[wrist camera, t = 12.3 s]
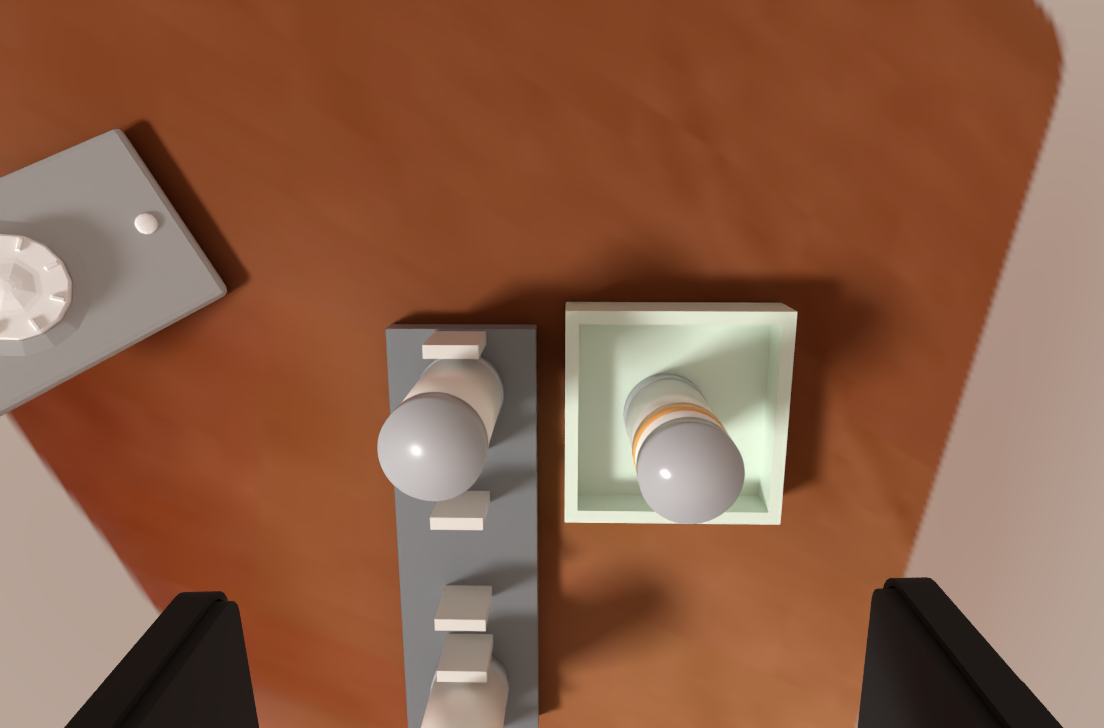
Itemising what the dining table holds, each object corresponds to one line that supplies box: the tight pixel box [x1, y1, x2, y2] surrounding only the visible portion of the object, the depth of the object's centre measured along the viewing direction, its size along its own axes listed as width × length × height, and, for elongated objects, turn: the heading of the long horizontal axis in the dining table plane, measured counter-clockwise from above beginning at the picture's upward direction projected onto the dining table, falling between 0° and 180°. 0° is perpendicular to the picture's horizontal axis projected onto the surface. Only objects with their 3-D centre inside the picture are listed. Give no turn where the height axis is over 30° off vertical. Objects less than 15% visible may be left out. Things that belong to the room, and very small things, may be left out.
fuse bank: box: [378, 324, 539, 728], centre depth 34 cm, size 22×7×9 cm, turn 0°
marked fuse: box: [623, 373, 745, 524], centre depth 32 cm, size 4×4×8 cm
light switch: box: [0, 129, 227, 416], centre depth 33 cm, size 8×6×14 cm
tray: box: [565, 302, 797, 525], centre depth 35 cm, size 10×10×2 cm
